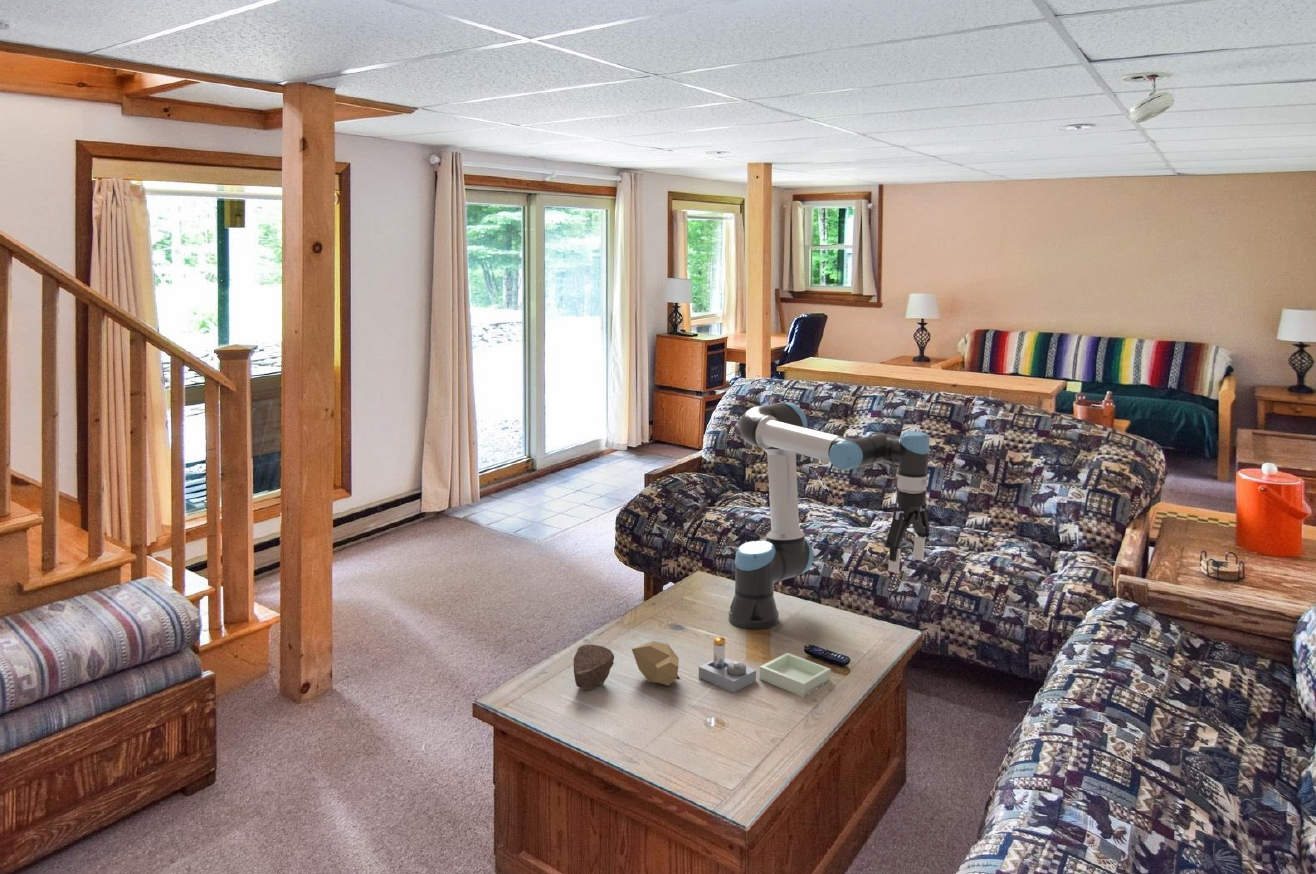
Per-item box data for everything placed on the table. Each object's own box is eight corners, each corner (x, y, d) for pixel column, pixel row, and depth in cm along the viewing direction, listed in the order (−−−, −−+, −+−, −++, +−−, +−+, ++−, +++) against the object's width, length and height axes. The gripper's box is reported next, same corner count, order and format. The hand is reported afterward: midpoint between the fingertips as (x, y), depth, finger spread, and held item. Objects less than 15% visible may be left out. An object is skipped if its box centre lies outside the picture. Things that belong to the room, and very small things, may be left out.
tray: (759, 679, 246) (759, 666, 245) (787, 664, 254) (787, 652, 254) (803, 696, 236) (803, 684, 236) (830, 681, 245) (830, 668, 244)
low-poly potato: (636, 670, 251) (617, 666, 241) (656, 634, 252) (638, 629, 242) (680, 699, 244) (663, 697, 234) (701, 662, 245) (684, 658, 235)
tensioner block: (698, 677, 247) (698, 657, 246) (720, 666, 253) (721, 647, 252) (733, 692, 239) (734, 672, 237) (755, 680, 245) (756, 661, 244)
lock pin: (710, 675, 248) (711, 639, 246) (717, 671, 250) (718, 636, 248) (719, 679, 246) (719, 642, 244) (726, 675, 248) (727, 639, 246)
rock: (587, 685, 231) (561, 656, 235) (577, 705, 238) (552, 676, 242) (622, 659, 239) (596, 631, 243) (612, 679, 246) (587, 651, 250)
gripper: (901, 501, 238) (895, 580, 242) (946, 483, 256) (940, 557, 260) (874, 496, 243) (869, 573, 247) (921, 478, 261) (915, 551, 265)
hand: (906, 565), depth 254 cm, fingers open, 13 cm apart
